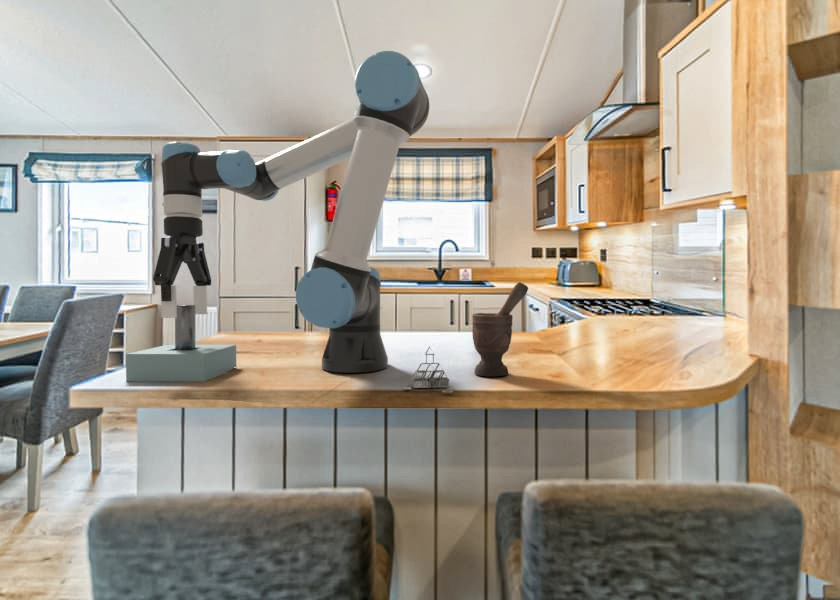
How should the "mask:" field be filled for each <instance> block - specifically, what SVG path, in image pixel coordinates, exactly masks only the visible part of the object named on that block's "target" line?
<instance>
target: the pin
mask: <svg viewBox="0 0 840 600" xmlns="http://www.w3.org/2000/svg"><path fill="white" fill-rule="evenodd" d="M174 345H175V351H191V350H195V345H196V314H195V305H194V304H177V318H174Z"/></svg>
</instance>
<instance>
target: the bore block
mask: <svg viewBox="0 0 840 600" xmlns="http://www.w3.org/2000/svg"><path fill="white" fill-rule="evenodd" d="M234 367H236V368H237V344H195V350H191V351H175V344H165V345H161V346H155V347H152V348H147V349H142V350H138V351H133V352H129V353H126V354H125V373H126V374H125V376H126V378H125V380H126V381H125V382H207V381H209V380H212V379H214V378H217V377H219V376H222V375H223V374H227V373H228V371H229V370H231V369H233V368H234ZM233 370H234V369H233ZM231 371H232V370H231ZM229 372H230V371H229Z"/></svg>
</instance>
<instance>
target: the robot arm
mask: <svg viewBox="0 0 840 600" xmlns="http://www.w3.org/2000/svg"><path fill="white" fill-rule="evenodd" d="M354 88H355V94H356V96H357V97H358V99H357V104H356V107H355V111H354V114H353V118H351V119H348V120H347V121H344V122H342V123H340V124H338V125H336V126H333V127H332V128H329V129H327V130H325V131H323V132H321V133H318V134H317V135H314V136H312V137H310V138H308V139H305V140H303V141H301V142H299V143H297V144H294V145H292V146H290V147H288V148H286V149H284V150H281V151H280V152H277V153H275V154H273V155H271V156H269V157H267V158H264V159H262V160H260V161H257V162H256V163H255V159H254V158H253V157H252V156H251V154H250V153H249V152H248V151H246V150H243V149H239V150H237V149H226V150H217V151H206V152H201V149H200V148H199V146H197V145H195V144H193V143H190V142H189V143H188V142H179V141H173V142H172V141H171V142H167V143H165V144H164V145H163V147H162V149H161V151H162V153H161V154H162V155H161V162H160V165H161V171H162V172H161V173H162V188H163V190H162V191H163V193H162V195H163V196H162V197H163V198H162V199H163V201H162V204H161V205H162V206H163V215H164V216H165V217H164V218H163V234H164V235H165V236H162V237H161V239H160V240H161V241H160V250H159V254H158V257H157V262H156V264H155V266H156V267H155V269H154V273H153V277H152V278H153V279H152V280H153V282H154V285H155V286H160V302H161V303H160V304H161V305H160V306H161V307H160V308H161V319H171V318H172V319H175V318H177V305H178V304H177V285H174V283H175V281H176V278H177V275H178V274H179V270H180V268H181V266H182V264H183V263H184V264H186V266H187V268H188V270H189V272H190V274H191V277H192V279H193V282H194V284H195V285H193V288H192V289H193V305H195V315H207V314H208V297H207V296H208V294H207V293H208V292H207V288H208V287H209V286H212V277H211V273H210V269H209V265H208V261H207V260H208V259H207V257H206V252H205V245H204V242H198V241H197V238H198V237H202V236H203V232H204V231H203V220H202V219H201V217H202V216H203V198H202V195H203V194H202V192H203V191H202V190H209V189H211V190H212V189H225V190H229V191H231V192H234V193H237V194H240V195H243V196H244V197H248V198H249V199H253V200H257V201H264V202H265V201H270V200H273V199H274V198H275V196H277V194H278V193H279V190H281V189H284V188H285V187H288V186H290V185H292V184H295V183H296V182H297V183H298V182H299V181H302V180H304V179H306V178H308V177H311V176H312V175H315V174H318V173H320V172H322V171H324V170H326V169H329V168H331V167H333V166H336V165H338V164H340V163H342V162H345V161H347V160H349V162H348V165H347V169H346V172H345V176H344V179H343V182H342V185H341V191H340V193H339V197H338V201H337V204H336V207H335V211H334V215H333V219H332V223H331V226H330V230H329V233H328V236H327V240H326V243H325V247H324V248H323V249H321V250H320V251H318V252H316V253H315V254H314V258H313V261H312V265H311V268H310V270H309V271H308V272H306V273H305V274H303V276H302V277H301V278H300V280H299V281H298V283H297V286H296V290H295V301H296V306H297V309H298V311H299V312H300V314H301V316H302V317H303V318H304V319H305V320H306V321H307V322H309V323H310V324H311V325H313V326H316V327H318V328H323V329H329V334H328V335H329V336H328V339H327V342H326V345H325V349H324V351H323V354H322V358H321V369H322V370H324V371H327V372H334V373H345V374H346V373H369V372H371V373H372V372H378V371H382V370H385V369H387V368H388V367H389V366H388V365H389V364H388V363H389V361H388V360H389V359H388V358H389V357H388V355H387V350H386V348H385V345H384V343H383V338H382V336H381V286H382V284H381V283H382V281H381V278H380V277H381V276H380V271H379V270H378V269H377V268H375V267H372V266H370V265H369V263H368V260H367V259H368V256H369V253H370V250H371V246H372V242H373V238H374V235H375V231H376V228H377V225H378V222H379V218H380V214H381V211H382V208H383V205H384V200H385V197H386V194H387V191H388V187H389V185H390V184H389V183H390V180H391V176H392V172H393V169H394V166H395V163H396V160H397V157H398V152H399V149H400V146H401V145H402V144H403V143H405V142H407V141H409V140H410V139H411V137H412V136H413V135H415V134H416V133H417V132H418V131H420V130H421V128H423V126H424V125H425V123H426V121H427V120H428V117H429V113H430V100H429V96H428V93H427V90H425V86H424V85H423V82H422V80H421V77H420V73H419V71H418V69H417V67H416V66H415V65H414V64H413V63H412V61H411V60H410V59H409V58H408V57H407V56H406V55H404V54H402V53H401V52H397V51H394V50H382V51H378V52H375V53H374V54H372V55H370V56H368V57H367V58H365V60H364V61H363V62H362V63H361V64H360V66H359V67H358V69H357V71H356V75H355V78H354ZM207 286H208V287H207Z"/></svg>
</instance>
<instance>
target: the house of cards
mask: <svg viewBox="0 0 840 600" xmlns="http://www.w3.org/2000/svg"><path fill="white" fill-rule="evenodd" d="M429 350H431V351H432V353H428V352H429ZM424 355H425V356H426V357H425V362H421V363H420V364H419V366H418V368H417V370H415V371H414V373H413V375H412V376H411V377H410V382H411V383H410V387H408V386H405V387H404V388H403V389H404V390H412V388H413V389H417V388H418V389H419V388H420V389H421V388H422V389H423V388H427V389H428V388H435V389H437V388H449V386H450V383H449V381H450V379H449V378H448V376H447V374H446V372H445V371H444V369H443V367H442V365H441V364H440V363H439V362H435V359H434V356H435V355H436V354H435V353H434V352H433V349H431V346H429V347H428V348H427V350H426V352H425V354H424ZM428 356H432V362H428ZM423 365H427V368H424V367H423ZM432 365H436V366H435V368H434V367H433V366H432ZM421 366H422V367H423V370H422V369H421V370H420V368H421ZM430 366H431V368H432V369H433V370H429V368H430ZM438 367H441V370H440V369H438ZM438 373H439V376H435V375H437V374H438ZM419 374H421V375H419ZM417 375H418V376H420V377H416V376H417ZM426 375H427V377H425V376H426ZM442 393H453V390H442Z"/></svg>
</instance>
